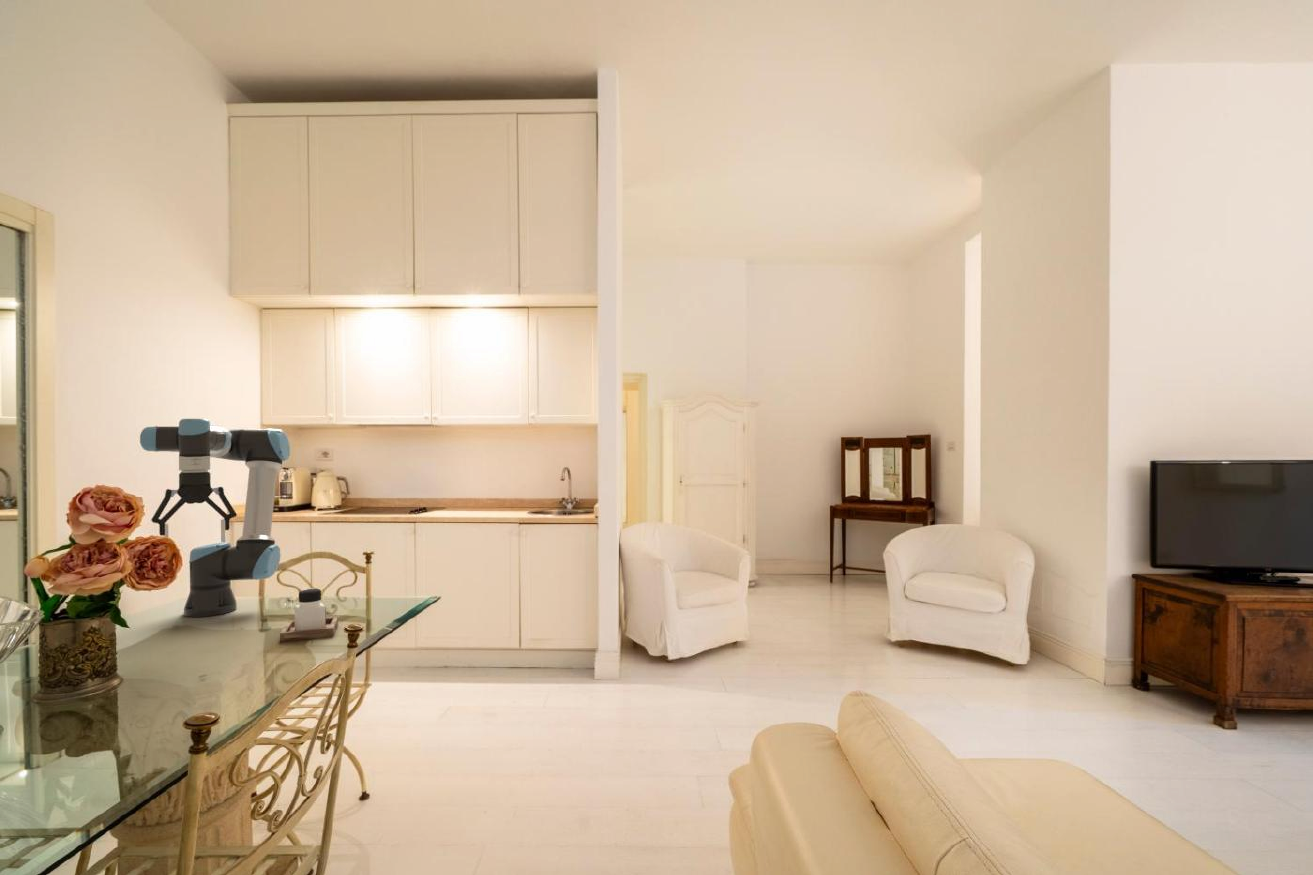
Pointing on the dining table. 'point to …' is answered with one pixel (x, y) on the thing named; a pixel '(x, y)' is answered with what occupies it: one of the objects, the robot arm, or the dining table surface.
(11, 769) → the dining table surface
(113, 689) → the dining table surface
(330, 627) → the wooden tray
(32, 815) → the dining table surface
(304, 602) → the medicine bottle
